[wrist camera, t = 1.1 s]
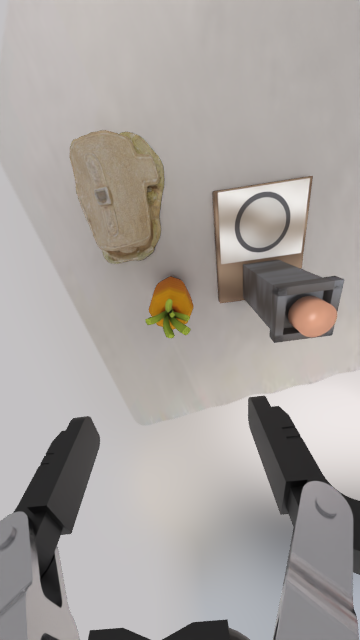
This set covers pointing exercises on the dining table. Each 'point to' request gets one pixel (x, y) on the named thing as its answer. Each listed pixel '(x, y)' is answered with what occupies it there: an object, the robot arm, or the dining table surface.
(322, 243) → the dining table surface
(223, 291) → the dispenser stand
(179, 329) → the carrot
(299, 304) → the button
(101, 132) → the ceramic model
